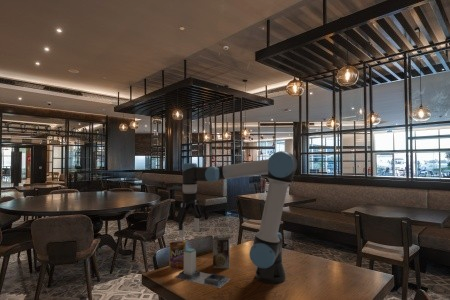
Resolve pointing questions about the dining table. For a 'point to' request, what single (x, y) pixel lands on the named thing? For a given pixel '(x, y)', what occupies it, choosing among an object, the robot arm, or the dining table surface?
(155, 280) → the dining table surface
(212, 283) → the panel
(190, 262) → the white rectangular bottle
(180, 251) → the candy box
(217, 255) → the coffee box
